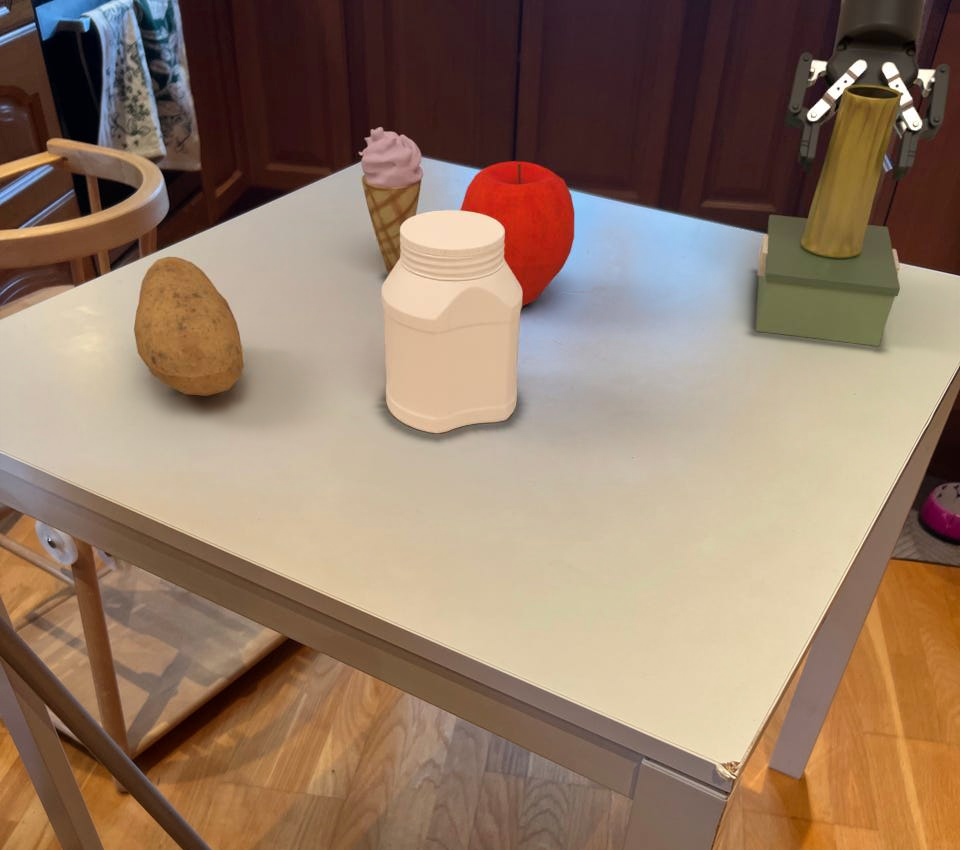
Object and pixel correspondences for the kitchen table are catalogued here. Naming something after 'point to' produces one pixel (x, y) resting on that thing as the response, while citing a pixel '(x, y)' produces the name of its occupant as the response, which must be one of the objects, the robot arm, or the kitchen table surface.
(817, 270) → the lunchbox
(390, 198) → the ice cream cone
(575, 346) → the kitchen table surface
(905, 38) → the robot arm
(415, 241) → the jar
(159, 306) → the potato
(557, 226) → the apple
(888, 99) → the vase
